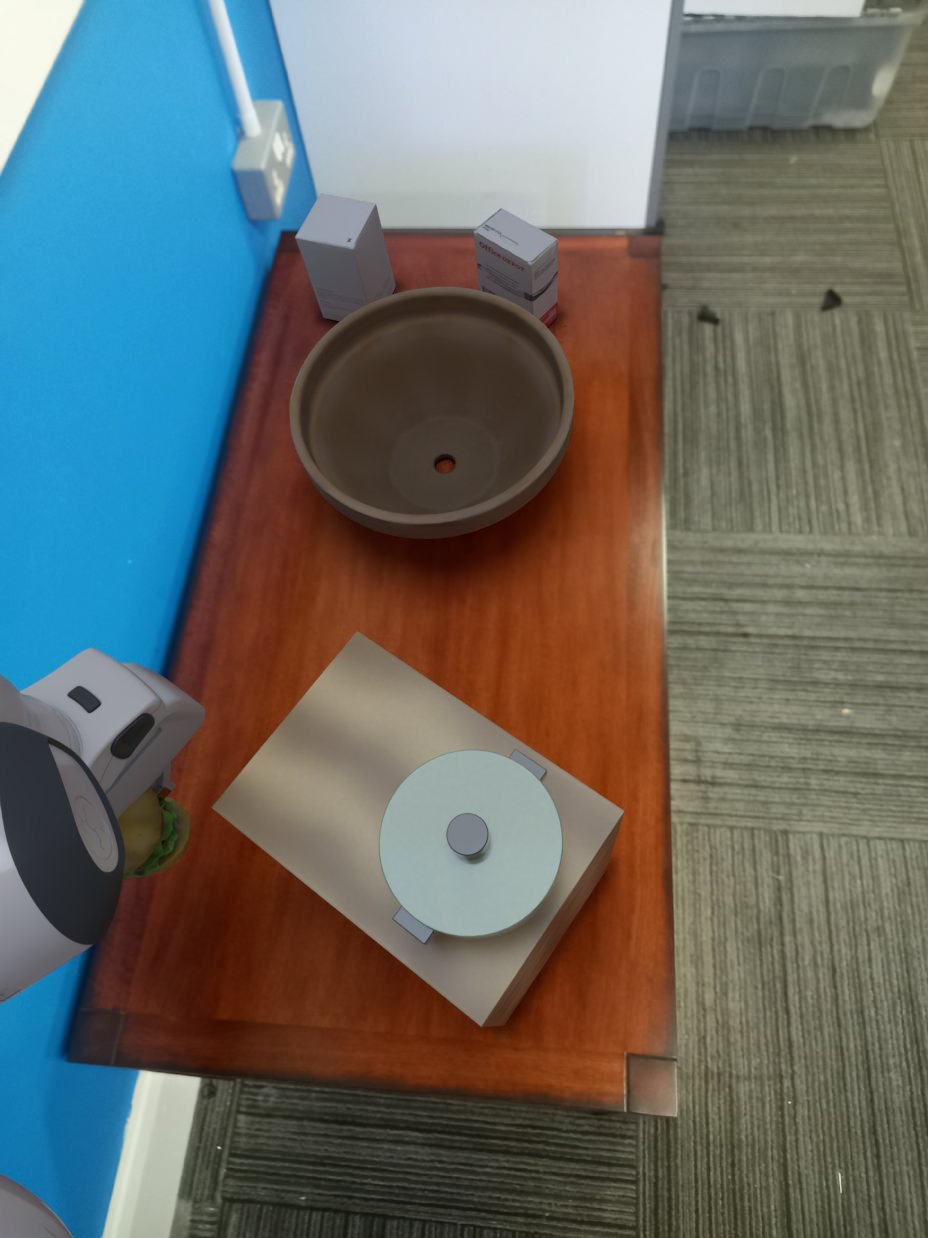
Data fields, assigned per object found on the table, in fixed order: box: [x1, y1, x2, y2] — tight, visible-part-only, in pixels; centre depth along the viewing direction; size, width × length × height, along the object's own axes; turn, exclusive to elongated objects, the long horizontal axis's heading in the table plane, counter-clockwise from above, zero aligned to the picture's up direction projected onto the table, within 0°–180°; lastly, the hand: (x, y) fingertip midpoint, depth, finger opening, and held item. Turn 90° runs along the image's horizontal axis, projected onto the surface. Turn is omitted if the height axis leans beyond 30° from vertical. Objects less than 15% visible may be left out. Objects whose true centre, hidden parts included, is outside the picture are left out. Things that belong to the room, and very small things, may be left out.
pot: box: [379, 749, 563, 946], centre depth 54 cm, size 12×11×8 cm
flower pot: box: [288, 286, 575, 540], centre depth 93 cm, size 28×28×13 cm
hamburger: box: [117, 787, 193, 881], centre depth 64 cm, size 8×7×12 cm
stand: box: [211, 630, 626, 1028], centre depth 70 cm, size 16×23×24 cm
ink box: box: [473, 207, 559, 328], centre depth 102 cm, size 8×5×12 cm, turn 48°
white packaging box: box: [294, 193, 397, 322], centre depth 105 cm, size 7×7×13 cm
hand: (127, 830), depth 65 cm, fingers closed on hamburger, 6 cm apart
